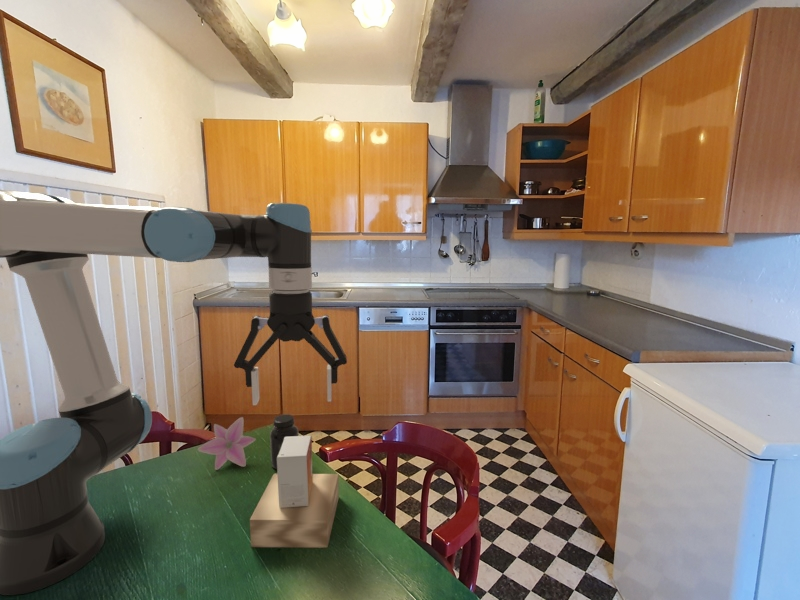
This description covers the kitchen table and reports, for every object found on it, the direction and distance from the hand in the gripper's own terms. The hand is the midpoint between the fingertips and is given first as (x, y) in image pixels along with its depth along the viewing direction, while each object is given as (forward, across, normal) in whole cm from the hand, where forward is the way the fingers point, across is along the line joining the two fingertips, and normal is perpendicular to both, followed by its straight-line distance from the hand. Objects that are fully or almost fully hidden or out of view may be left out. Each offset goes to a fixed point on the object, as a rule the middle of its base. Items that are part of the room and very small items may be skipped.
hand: (293, 400), depth 74 cm
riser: (+26, 0, 0) cm, 26 cm away
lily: (+26, -19, +24) cm, 40 cm away
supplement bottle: (+26, -5, +21) cm, 33 cm away
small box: (+20, 0, 0) cm, 20 cm away
